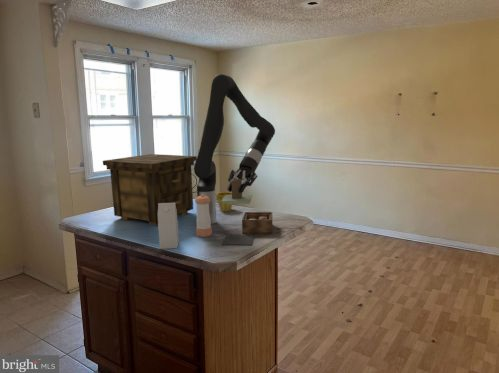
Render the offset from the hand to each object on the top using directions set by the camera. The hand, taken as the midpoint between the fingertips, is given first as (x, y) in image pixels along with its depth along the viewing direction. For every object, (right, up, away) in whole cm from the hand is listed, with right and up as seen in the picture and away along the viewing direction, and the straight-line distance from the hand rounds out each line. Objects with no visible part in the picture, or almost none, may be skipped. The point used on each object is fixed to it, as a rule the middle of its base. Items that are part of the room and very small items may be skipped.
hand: (234, 191), depth 159 cm
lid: (+1, -4, +2) cm, 5 cm away
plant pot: (-8, -12, +59) cm, 60 cm away
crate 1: (-46, -15, +48) cm, 68 cm away
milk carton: (-28, -24, 0) cm, 37 cm away
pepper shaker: (-15, -21, +15) cm, 29 cm away
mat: (+1, -22, +6) cm, 23 cm away
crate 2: (+11, -19, +21) cm, 30 cm away
